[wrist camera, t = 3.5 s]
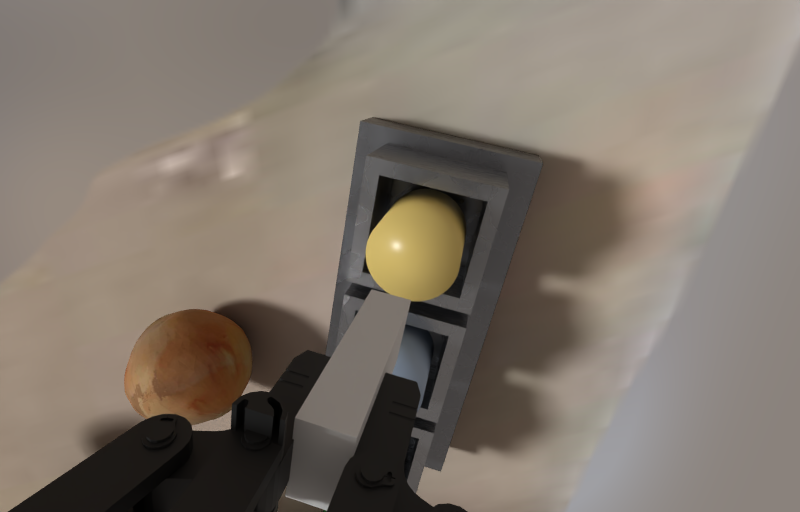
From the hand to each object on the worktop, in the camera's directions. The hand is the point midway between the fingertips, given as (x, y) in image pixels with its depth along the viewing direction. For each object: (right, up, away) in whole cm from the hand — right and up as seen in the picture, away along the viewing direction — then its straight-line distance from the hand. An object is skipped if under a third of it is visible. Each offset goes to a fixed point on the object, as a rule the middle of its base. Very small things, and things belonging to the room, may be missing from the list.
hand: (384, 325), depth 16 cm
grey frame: (+2, -1, +20) cm, 20 cm away
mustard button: (+2, +4, +11) cm, 12 cm away
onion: (-16, -5, +26) cm, 31 cm away
